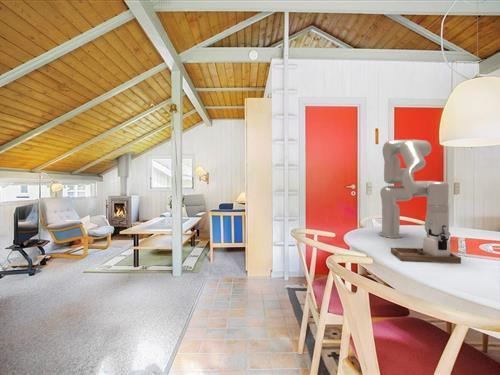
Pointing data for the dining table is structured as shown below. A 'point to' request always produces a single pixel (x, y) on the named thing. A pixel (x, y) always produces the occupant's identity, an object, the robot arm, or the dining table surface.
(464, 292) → the dining table surface
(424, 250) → the medicine bottle
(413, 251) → the tray
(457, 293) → the dining table surface
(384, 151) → the robot arm
